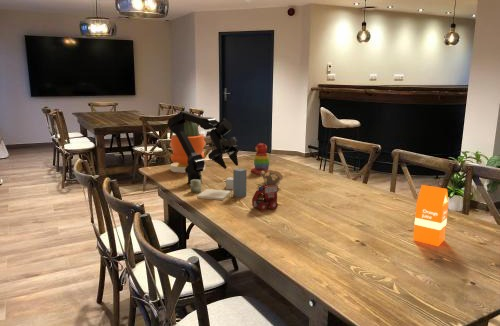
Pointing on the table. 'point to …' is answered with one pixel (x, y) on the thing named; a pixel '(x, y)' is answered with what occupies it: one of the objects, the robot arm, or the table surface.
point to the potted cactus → (179, 153)
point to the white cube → (229, 183)
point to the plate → (214, 194)
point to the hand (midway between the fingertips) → (231, 166)
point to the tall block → (239, 182)
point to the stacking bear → (261, 159)
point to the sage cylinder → (195, 186)
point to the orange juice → (431, 215)
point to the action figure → (271, 177)
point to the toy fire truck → (265, 198)
